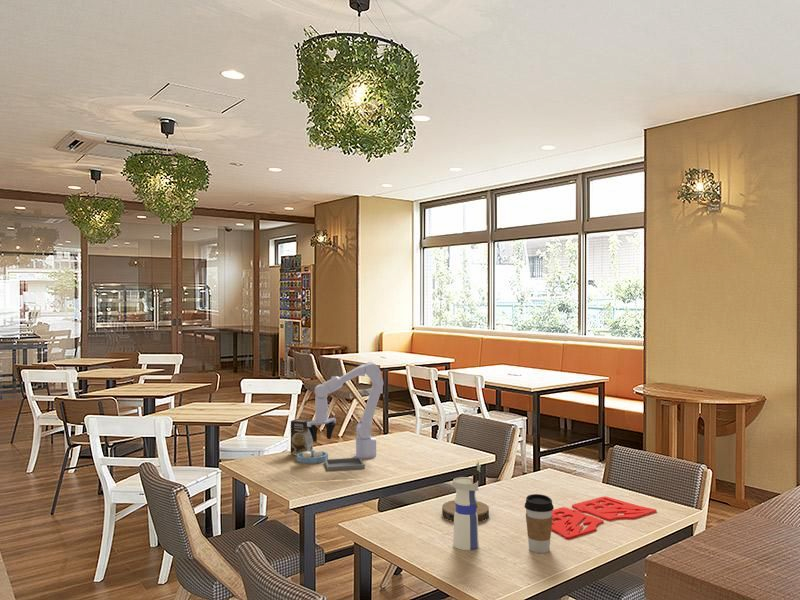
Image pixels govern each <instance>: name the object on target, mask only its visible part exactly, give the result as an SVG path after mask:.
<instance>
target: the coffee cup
mask: <svg viewBox="0 0 800 600" xmlns="http://www.w3.org/2000/svg"><path fill="white" fill-rule="evenodd" d="M523 507H524V508H525V512H526V513H525V519H526V520H525V522H526V530H527V531H526V532H527V541H528V542H527V543H528V550H529V551H531V552H533V553H536V554H546V553H548V552H549V551H550V548H551V545H550V544H551V537H552V536H551V535H552V531H551V526H552V510H554V505H553V500H552V498H551V497H549V496H548V495H546V494H545V495H544V494H540V493H539V494H538V493H535V494H528V495H527V496H526V499H525V502H524V506H523Z"/></svg>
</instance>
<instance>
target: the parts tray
mask: <svg viewBox="0 0 800 600" xmlns="http://www.w3.org/2000/svg"><path fill="white" fill-rule="evenodd" d="M324 465H325V468H326V471H327V472H333V471H346V470H347V471H349V470H364V469H365V465H366V464H365V463H364V461H363V459H362V458H356V457H345V458H328V459H325V462H324Z"/></svg>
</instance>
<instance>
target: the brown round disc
mask: <svg viewBox="0 0 800 600" xmlns="http://www.w3.org/2000/svg"><path fill="white" fill-rule="evenodd" d="M441 511H442V512H441V513H442V514H441V515H443V516H442V517H443V518H444V519H446V520H447V519H448V521H450V520H451V521H450V522H453V521H454V514H455V511H456V503H455V502H454V499H453V500H450V501H447V502H444V503H443V504H442V509H441ZM489 511H490V508H489V505H488V504H486V503H484V502H482V501H478V509H477V510H476V512H477V515H478V521H481V522H484V521H486V520H487V519H488V518H490V517H489V515H490V512H489ZM485 519H486V520H485ZM483 520H484V521H483Z"/></svg>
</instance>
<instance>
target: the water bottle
mask: <svg viewBox="0 0 800 600" xmlns="http://www.w3.org/2000/svg"><path fill="white" fill-rule="evenodd" d="M475 465H476V471H478V472H479V473H481V464H480V462H479V461H477V463H475ZM472 481H473V480H472V478H471V477H468V476H460V477H456V478H453V480H452V481H451V484H450V486H451V487H452V488H454V489H455V491H456V492H455V493H456V494H455V497H454V499H453V500H454V502H455V503H456V511H455V514H454V522H453V540H452V543H453V544H452V546H453V547H454V548H455V549H457V548H458V549H457V550H463V551H473V550H476V549H478V548H479V547H480V542H479V541H480V539H479V522H478V515H477V512H476V510H477V509H478V499H477V497H476V492H479V491H480V490H479V480H477V481H476V482H475V483H472Z"/></svg>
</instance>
